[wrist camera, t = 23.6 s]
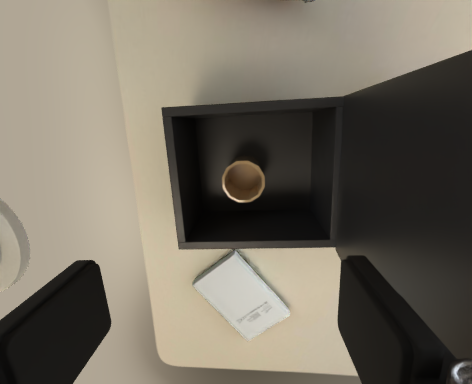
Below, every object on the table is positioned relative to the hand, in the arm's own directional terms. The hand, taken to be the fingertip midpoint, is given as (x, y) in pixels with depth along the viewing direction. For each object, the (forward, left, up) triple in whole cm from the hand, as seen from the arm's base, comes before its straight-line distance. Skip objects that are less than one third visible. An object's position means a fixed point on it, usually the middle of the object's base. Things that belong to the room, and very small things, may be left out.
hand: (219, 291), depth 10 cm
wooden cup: (0, 0, -23) cm, 23 cm away
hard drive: (-1, -18, -24) cm, 30 cm away
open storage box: (+1, +1, -24) cm, 24 cm away
